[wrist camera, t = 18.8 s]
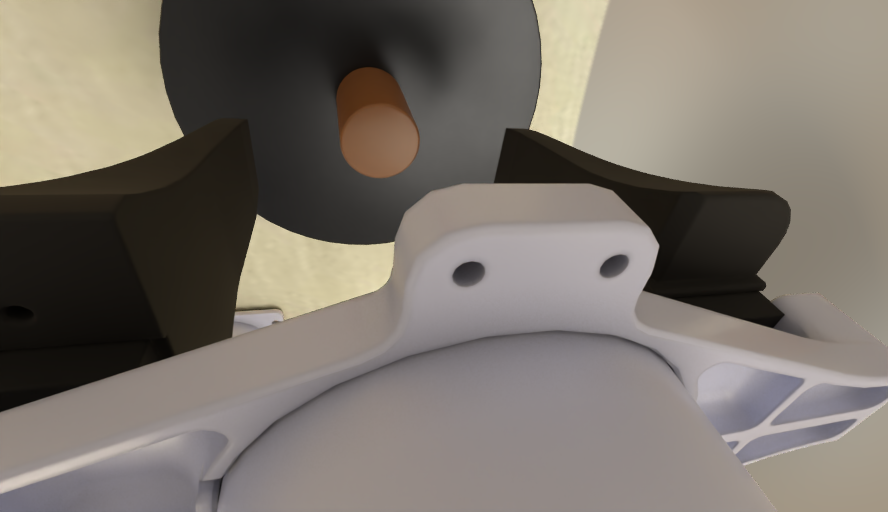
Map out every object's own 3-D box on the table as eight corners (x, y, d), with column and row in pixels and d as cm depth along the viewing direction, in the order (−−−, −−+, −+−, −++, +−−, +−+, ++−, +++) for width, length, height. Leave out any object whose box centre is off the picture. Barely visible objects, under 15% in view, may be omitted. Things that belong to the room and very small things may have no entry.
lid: (494, 226, 22) (528, 290, 19) (213, 234, 19) (189, 313, 15) (573, -104, 14) (661, -105, 10) (106, -191, 11) (-1, -236, 7)
